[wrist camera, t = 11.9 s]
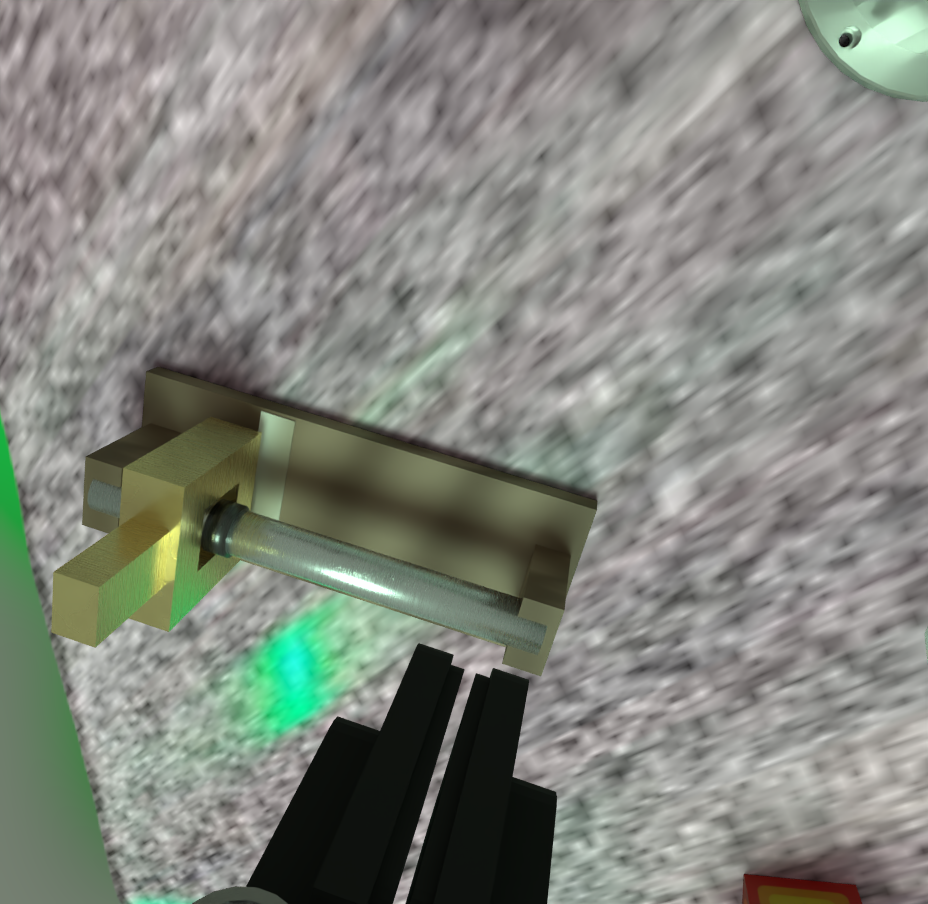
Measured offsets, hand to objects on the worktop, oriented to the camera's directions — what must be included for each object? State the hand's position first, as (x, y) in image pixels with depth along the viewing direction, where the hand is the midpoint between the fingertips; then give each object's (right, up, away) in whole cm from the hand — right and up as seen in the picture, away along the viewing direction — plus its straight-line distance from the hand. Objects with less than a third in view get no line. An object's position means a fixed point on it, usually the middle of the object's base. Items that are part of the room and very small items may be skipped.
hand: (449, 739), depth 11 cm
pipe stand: (-6, +1, +32) cm, 33 cm away
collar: (-13, +2, +31) cm, 34 cm away
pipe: (-7, -1, +28) cm, 29 cm away
